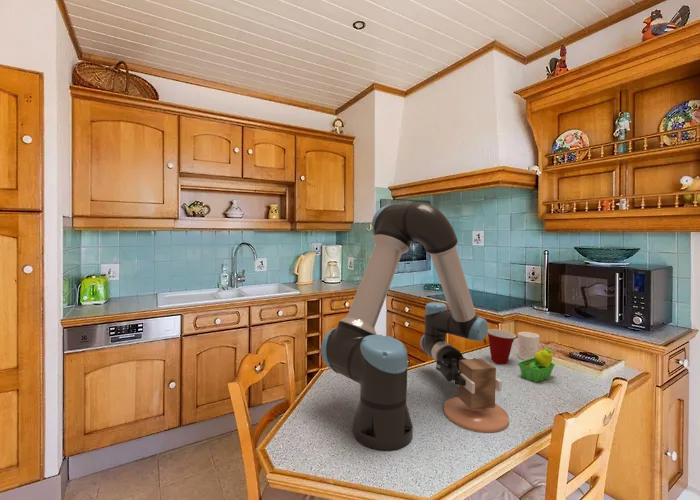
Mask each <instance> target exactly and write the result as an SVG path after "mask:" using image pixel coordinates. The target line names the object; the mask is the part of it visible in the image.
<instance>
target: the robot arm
mask: <svg viewBox="0 0 700 500" xmlns="http://www.w3.org/2000/svg"><path fill="white" fill-rule="evenodd" d="M371 228H372V229H371V231H372V235H373V237H372V238H373V239H372V240H373V242H374V244H375V245H374V248H373V250H372V253H371V256H370V258H369V260H368V262H367V265H366V268H365V270H364V272H363V275H362V277H361V279H360V282H359V285H358V288H357V290H356V293H355V295H354V296H353V301H352V303H351V305H350V308H349V310H348V313H347V315H346V317H344V318H340V320H339V321H338V323H337V326H336V327H333V328H331V329H330V330H329V331H327V332H326V334H325V335H324V337H323V338H322V342H321V346H320V347H321V348H320V352H321V357H322V361H323V362H324V365H326V366H327V367H328V368H329V369H331V370H332V371H333V372H334V373H336V374H340V375H342V376H344V377H346V378H348V379H350V380H352V381H354V382H356V383H357V384H359V385H360V389H359V393H360V394H359V397H360V398H359V403H358V406H357V407H356V411H355V414H354V417H353V422H352V434H353V436H354V438H355V440H357V442H359V443H360V444H361V445H364V446H365V447H367V448H371V449H374V450H380V451H394V450H397V449H401V448H403V447H405V446H407V445H408V444H409V443H410V442H411V441H412V439H413V436H414V435H413V434H414V425H413V422H412V418H411V415H410V411H409V408H408V404H407V393H408V392H407V389H408V367H409V360H408V350H407V346H406V345H405V343H403V342H402V341H400V340H399V339H397V338H395V337H393V336H390V335H382V334H377V331H376V328H375V327H376V324H377V321H378V319H379V317H380V314H381V311H382V309H383V305H384V304H385V301H386V298H387V294H388V292H389V290H390V287H391V284H392V283H393V282H392V281H393V278H394V276H395V273H396V270H397V268H398V266H399V263H400V260H401V257H402V255H404V254H406V253H408V252H409V250H410V248H411V245H412V243H413V242H414V243H420V244H421V245H422V246H423V247H424V251H425V252H426V253H427V254H429V255H430V257H431V260H432V264H433V265H434V268H435V271H436V274H437V278H438V280H439V283H440V286H441V288H442V292H443V295H444V298H445V300H446V303H447V305H446V304H445V303H443V302H435V301H434V302H427V303H426V305H425V306H424V307H425V310H424V314H423V315H424V333H423V335H422V336H421V338H420V340H419V345H420V348H421V349H422V351H424V353H425V354H426V355H427V356H429V357H430V358H431V359H432V360H433V361H435V363H436V364H435V368H436V370H437V371H439V372H440V373H441V374H442V376H444V378H445V379H446V381H447V382H448V383H451V382H452V381H454V385H456V386H459V384H460V385H462V386H464V387H465V388H466V389H467V390H469V391H470V392H471V393H472V394H474V393H475V383H474V382H473V381H471V380H470V379H469V378H468V377H466V376H465V375H464V374H463V373H461V374H460V375H459V360H465V359H467V358H465V357H464V356H463V354H462V352H461V351H460V350H458V349H457V348H455V347H454V346H453V345H452V344H450V343H449V342H447V334H448V335H453V336H455V337H459V338H461V339H467V340H470V341H476V342H482V341H484V340H485V338H486V337H487V336H488V333H487V332H488V330H489V324H488V321H487V320H486V319H485V318H482V317H480V316H477V312H476V309H475V307H474V303H473V300H472V296H471V293H470V290H469V287H468V284H467V279H466V277H465V273H464V271H463V270H464V269H463V268H462V264H461V260H460V258H459V253H458V251H457V245H458V243H459V242H458V237H457V235H456V232H455V230H454V227H453V226H452V224H451V223H450V221H449V220H448V218H447V217H446V216H445V214H444V213H443V212H442V211H441V210H439V209H438V208H437V207H436V206H434V205H433V204H430V203H426V202H415V203H413V202H412V203H405V204H403V203H402V204H397V203H396V204H395V203H391V204H389V205H384V206H382V207H380V208H379V209H378V210H377V211H376V212H375V213H374V215H373V217H372V221H371ZM448 309H449V310H448ZM472 359H477V358H472ZM502 383H503V382H502V380H500V379H499V378H498V377H497V376H496V385H495V391H497V392H502Z"/></svg>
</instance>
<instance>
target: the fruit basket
mask: <svg viewBox="0 0 700 500" xmlns="http://www.w3.org/2000/svg"><path fill="white" fill-rule="evenodd" d="M552 358H553V353H552V350H551V349H549V348H546V347H545V348H543V350H538V352H537V353H535V355H534V358H532V359H529V360H523V361H519V362H518V366H519V368H520V373H521V377H522V378H523V379H526V380H529V381H532V382H534V383H539V382H541V381H543V380H546V379H550V377H551V375H552V372H553V369H554V368H555V366H556V365H555V363H553V362H552V361H553V359H552Z"/></svg>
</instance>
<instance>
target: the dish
mask: <svg viewBox="0 0 700 500" xmlns="http://www.w3.org/2000/svg"><path fill="white" fill-rule="evenodd" d="M443 414H444V415H445V417H446V418H447V420H449V421H450V422H451V423H453V424H454V425H456V426H459V427H461V428H462V429H465V430H468V431H472V432H478V433H485V434H486V433H487V434H488V433H498V432H501V431H504V430H505V429H507V428H508V427H509V424H510V423H509V422H510V417H509V413H508V412H507V411H506V410H505V409H504V408H503V407H502V406H500V405H499V404H497V403H495V408H485V409H474V410H471V409H470V408H469V407H468V406H467V405H466V404H465V403H464V402H463V401H462V400H461V399H460V398H459V397H458V396H455V397H451V398H449V399H447V400H446V401H445V402H444V404H443Z"/></svg>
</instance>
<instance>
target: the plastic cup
mask: <svg viewBox="0 0 700 500" xmlns="http://www.w3.org/2000/svg"><path fill="white" fill-rule="evenodd" d="M487 337H488V344H489V352H490V355H491V356H490V358H491V362H492V363H494V364H498V365H507V364H508V362H509V358H510V354H511V351H512V346H513V343H514V340H515V339H516V338H517V335H516V334H515V333H513V332H510V331H507V330H502V329H496V328H493V329H492V328H491V329H489V328H488V332H487Z"/></svg>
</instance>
